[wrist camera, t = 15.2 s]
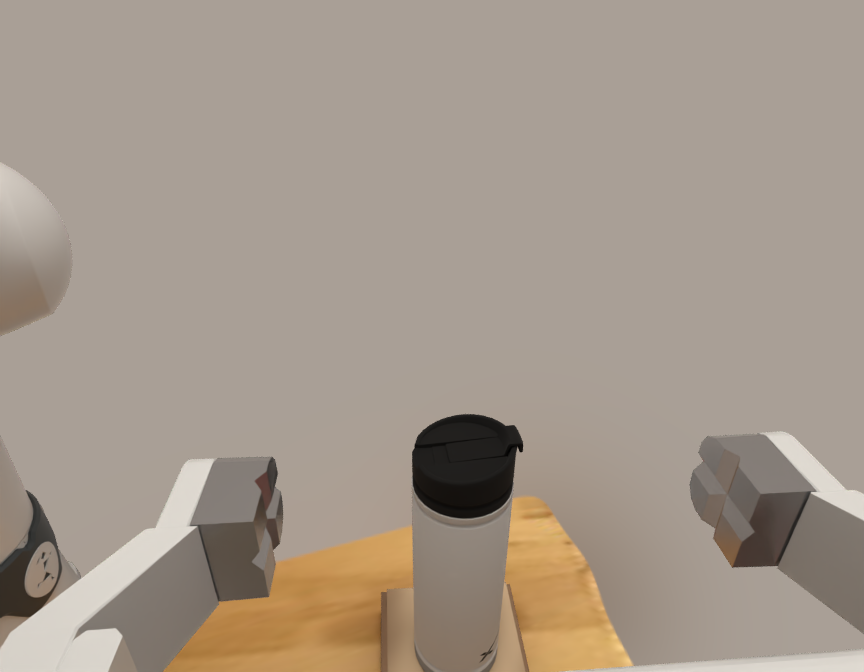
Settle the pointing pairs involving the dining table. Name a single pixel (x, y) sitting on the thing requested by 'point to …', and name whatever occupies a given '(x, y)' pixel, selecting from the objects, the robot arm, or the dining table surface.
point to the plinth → (399, 634)
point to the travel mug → (461, 539)
